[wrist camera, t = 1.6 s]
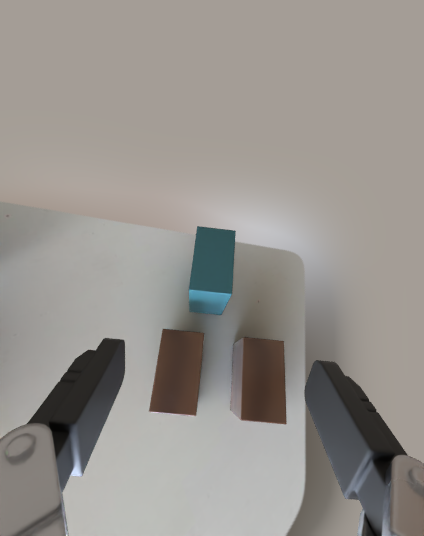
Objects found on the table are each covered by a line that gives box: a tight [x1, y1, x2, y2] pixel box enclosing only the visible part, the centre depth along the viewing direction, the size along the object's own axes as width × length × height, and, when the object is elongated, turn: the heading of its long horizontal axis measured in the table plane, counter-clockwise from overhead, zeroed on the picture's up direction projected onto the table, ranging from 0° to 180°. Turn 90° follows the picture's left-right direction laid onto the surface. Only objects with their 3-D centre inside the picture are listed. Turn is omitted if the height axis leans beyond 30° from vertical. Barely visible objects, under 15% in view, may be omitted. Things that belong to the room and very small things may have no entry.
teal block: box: [189, 226, 235, 315], centre depth 32 cm, size 5×8×10 cm, turn 175°
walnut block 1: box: [149, 329, 204, 416], centre depth 28 cm, size 5×8×7 cm, turn 175°
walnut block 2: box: [230, 337, 286, 424], centre depth 29 cm, size 5×8×7 cm, turn 175°
